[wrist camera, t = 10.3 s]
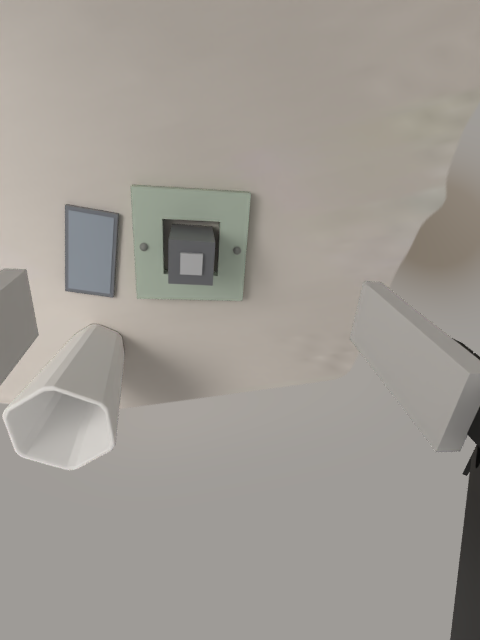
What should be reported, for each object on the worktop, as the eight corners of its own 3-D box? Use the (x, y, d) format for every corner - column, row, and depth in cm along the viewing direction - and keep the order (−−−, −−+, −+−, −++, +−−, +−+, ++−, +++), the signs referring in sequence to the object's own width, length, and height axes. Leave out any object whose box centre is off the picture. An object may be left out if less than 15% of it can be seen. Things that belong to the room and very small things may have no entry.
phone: (68, 203, 44) (64, 205, 43) (119, 212, 46) (117, 214, 44) (68, 287, 49) (65, 291, 48) (114, 293, 50) (112, 297, 49)
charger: (172, 223, 46) (168, 240, 39) (212, 226, 47) (215, 243, 40) (171, 261, 49) (167, 284, 41) (209, 264, 49) (212, 286, 42)
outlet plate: (132, 184, 44) (130, 186, 42) (249, 191, 46) (251, 193, 44) (138, 293, 50) (136, 299, 48) (240, 296, 52) (242, 301, 50)
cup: (140, 376, 56) (119, 466, 41) (70, 380, 55) (23, 474, 40) (130, 309, 51) (102, 383, 36) (53, 312, 50) (-9, 390, 35)
